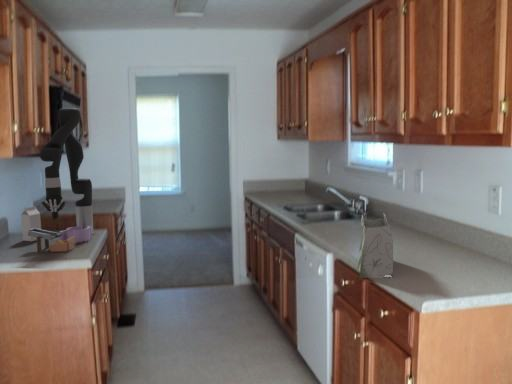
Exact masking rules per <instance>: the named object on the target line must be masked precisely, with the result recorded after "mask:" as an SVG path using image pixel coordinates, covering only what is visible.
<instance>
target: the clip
mask: <svg viewBox="0 0 512 384" xmlns="http://www.w3.org/2000/svg"><path fill="white" fill-rule="evenodd" d="M59 233H60V234H62V236H60V237H59V238H60V240H67V239H69V238H71V237H73V236H75V245H76V244H77V242H78V243H82V242H83V241H84V242H88V241H90V240H91V239H93V234H92V226H87V227H86V229H82V226H77V225H76V226H71V227H67V228H66V229H65V230H60V231H59Z"/></svg>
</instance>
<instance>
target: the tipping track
mask: <svg viewBox="0 0 512 384" xmlns="http://www.w3.org/2000/svg"><path fill="white" fill-rule="evenodd" d="M28 236H32V237H41V238H42V239H44V240H45V239H48V240H49V241H51V240H54V239H57V238H60V236H62V234H60V232H55V231H51V230H46V229H42V228H41V229H36V228H32V229H29V231H28Z"/></svg>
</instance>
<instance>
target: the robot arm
mask: <svg viewBox="0 0 512 384" xmlns="http://www.w3.org/2000/svg"><path fill="white" fill-rule="evenodd" d="M57 120H58V124H59V127H60V128H58V129H57V130H56V131H55V132H54V133H53V134H52V136H51V138H50V140H49V141H47V143H46V144H45V145H44V146H43V147H42V148H41V149H40V152H39V158H40V160H41V161H43V162H47V163H48V162H52V164H51V165H49V166H46V167H45V168H44V177H45V181H44V188H45V196H46V197H45V200H44V201H41V204H42V206H43V207H44V208H45V209H46V210H47V211H48V212H51V216H52V219H53V220H57V219H59V217H60V215H59V211H62V210H63V209H64V207H65V205H66V204H67V203H68V202H67V200H65V199H63V196H62V183H61V177H60V176H61V175H60V167H61V161H62V157H63V153H62V151H61V150H62V149H63V147H64V150H65V155H66V159H67V165H68V170H69V178H70V179H69V180H70V187H71V191H72V193H73V194H74V195H83V197H82V198H81V199H77V200H76V201H75V220H76V227H77V226H82V229H86V227H87V226H92V235H93V234H94V218H93V216H94V215H93V184H92V180H91V179H90V178H79V170H80V167H81V165H82V162H83V161H84V158H85V157H84V150H83V146H82V144H81V142H80V141H79V140H78V139H77V137H76V136H75V135H74V134H73V131H74V130H75V128H76V127H77V126H78V125H79V123H80V121H81V112H80V110H79V109H78V108H76V107H75V108H74V107H64V108H60V109H58V111H57Z"/></svg>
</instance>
